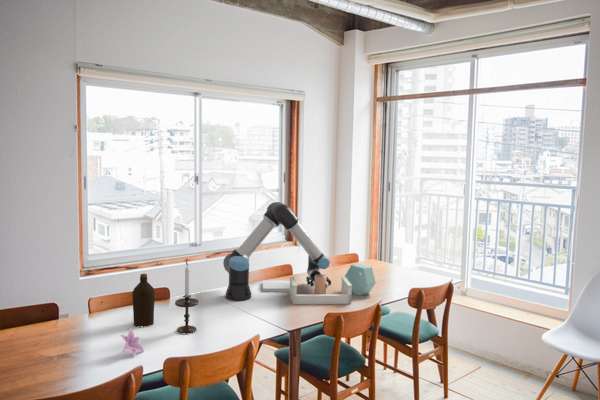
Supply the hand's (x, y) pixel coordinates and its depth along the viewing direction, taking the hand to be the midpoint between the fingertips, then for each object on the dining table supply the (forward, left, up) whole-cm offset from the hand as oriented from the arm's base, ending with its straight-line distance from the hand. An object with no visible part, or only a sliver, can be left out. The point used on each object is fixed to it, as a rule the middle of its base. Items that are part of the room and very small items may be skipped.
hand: (321, 286), depth 289 cm
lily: (-92, -71, -9) cm, 117 cm away
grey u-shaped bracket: (0, +3, -9) cm, 9 cm away
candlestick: (-72, -46, -9) cm, 86 cm away
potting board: (-24, +27, -9) cm, 38 cm away
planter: (+27, +15, -9) cm, 32 cm away
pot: (0, +3, -8) cm, 8 cm away
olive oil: (-94, -36, -9) cm, 101 cm away
